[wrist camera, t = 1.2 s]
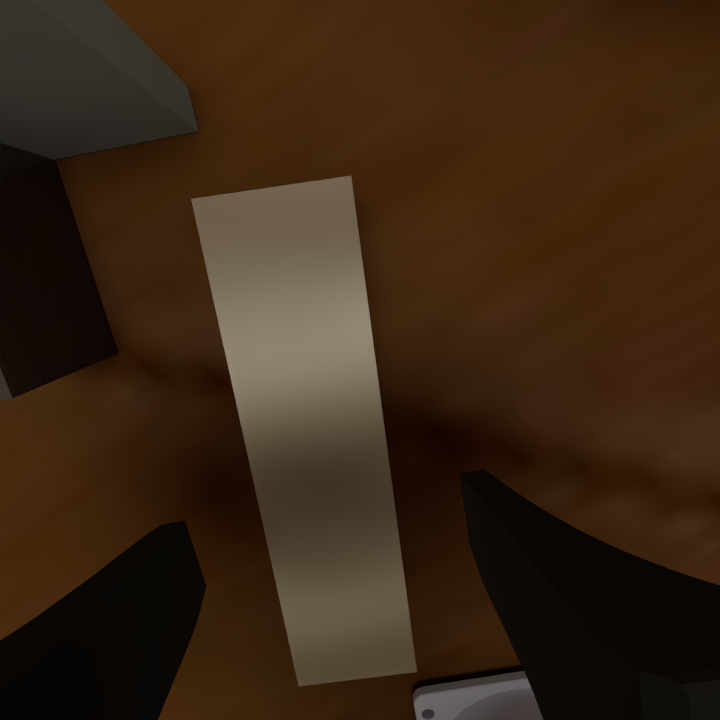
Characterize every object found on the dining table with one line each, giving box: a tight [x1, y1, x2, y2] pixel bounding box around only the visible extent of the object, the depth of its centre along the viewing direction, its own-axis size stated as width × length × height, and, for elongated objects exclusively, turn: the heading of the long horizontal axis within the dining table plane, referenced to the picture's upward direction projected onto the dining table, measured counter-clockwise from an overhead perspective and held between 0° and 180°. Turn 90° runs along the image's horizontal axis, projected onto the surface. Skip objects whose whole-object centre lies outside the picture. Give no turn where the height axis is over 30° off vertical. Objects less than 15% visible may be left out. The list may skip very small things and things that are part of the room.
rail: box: [191, 176, 417, 686], centre depth 13 cm, size 14×4×4 cm, turn 8°
